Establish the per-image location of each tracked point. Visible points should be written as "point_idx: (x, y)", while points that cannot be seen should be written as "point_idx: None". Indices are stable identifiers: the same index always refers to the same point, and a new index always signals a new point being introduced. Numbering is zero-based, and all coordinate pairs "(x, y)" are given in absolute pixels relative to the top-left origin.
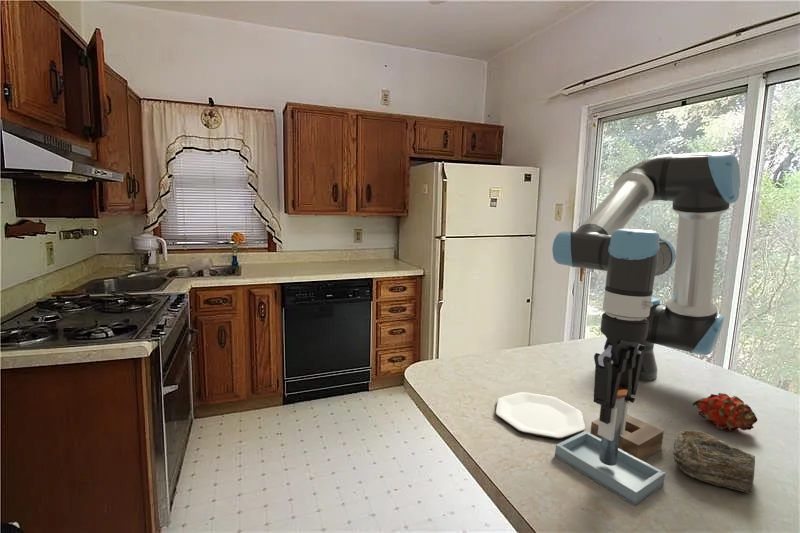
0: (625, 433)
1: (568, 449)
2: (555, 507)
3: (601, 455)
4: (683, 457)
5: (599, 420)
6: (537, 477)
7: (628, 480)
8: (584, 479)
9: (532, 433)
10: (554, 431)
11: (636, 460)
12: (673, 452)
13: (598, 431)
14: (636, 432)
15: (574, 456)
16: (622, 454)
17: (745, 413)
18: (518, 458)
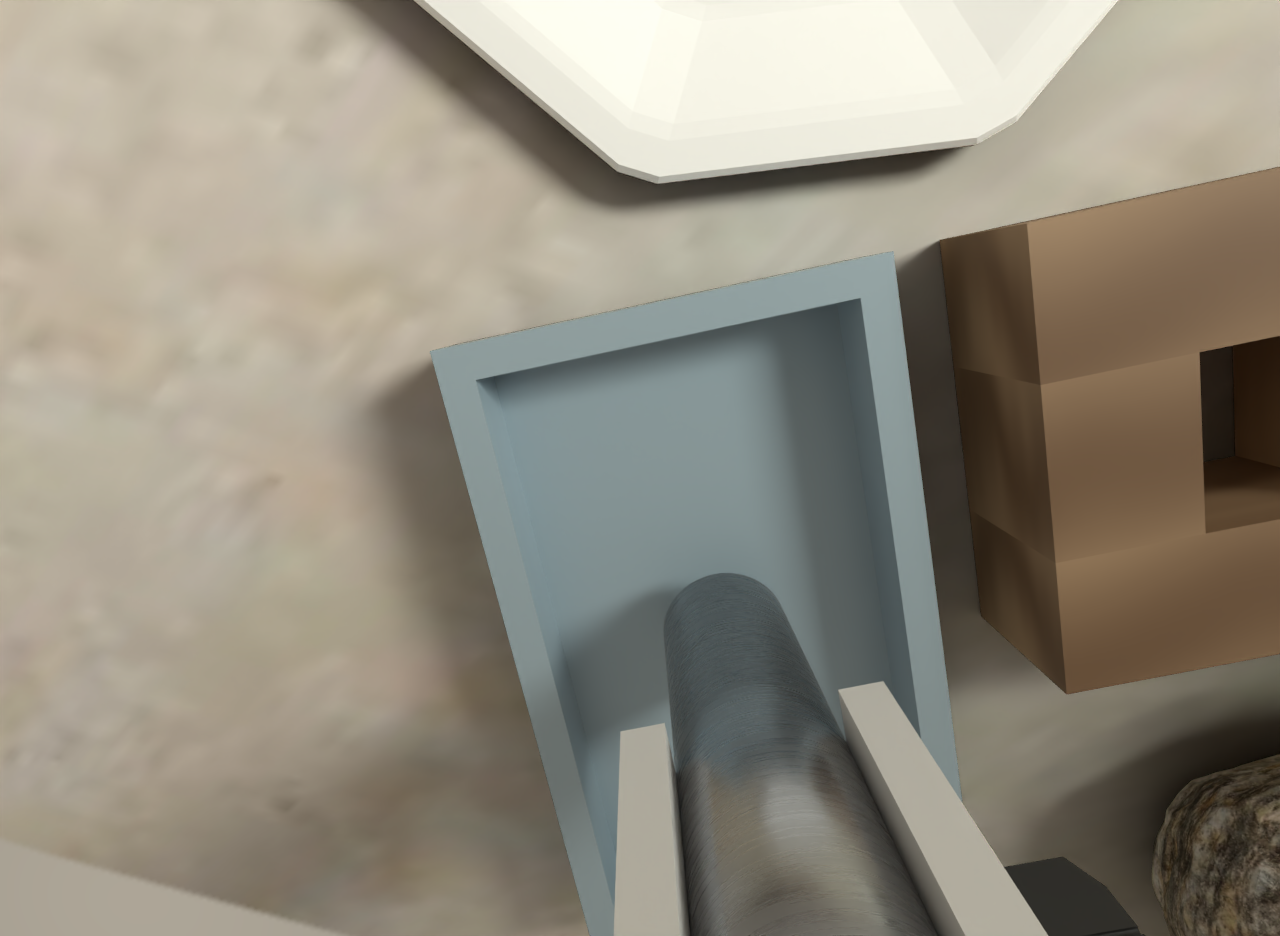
0: (1145, 520)
1: (494, 446)
2: (129, 753)
3: (666, 644)
4: (1230, 911)
5: (619, 862)
6: (170, 506)
7: None
8: (485, 624)
9: (429, 13)
10: (710, 26)
11: (918, 725)
12: (1263, 796)
13: (621, 760)
14: (1264, 541)
15: (481, 533)
16: (901, 620)
17: None
18: (142, 269)
